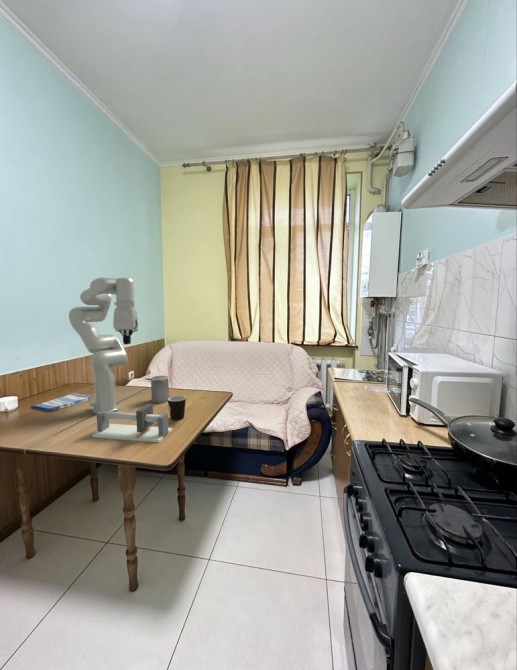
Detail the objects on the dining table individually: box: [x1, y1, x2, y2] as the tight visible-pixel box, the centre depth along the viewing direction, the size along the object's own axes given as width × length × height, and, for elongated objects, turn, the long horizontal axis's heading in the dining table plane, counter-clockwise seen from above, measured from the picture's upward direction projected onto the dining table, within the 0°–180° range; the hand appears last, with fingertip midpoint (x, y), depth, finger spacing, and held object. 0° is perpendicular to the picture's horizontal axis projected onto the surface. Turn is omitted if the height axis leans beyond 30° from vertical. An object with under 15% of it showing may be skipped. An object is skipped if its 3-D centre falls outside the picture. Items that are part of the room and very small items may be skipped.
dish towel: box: [30, 392, 92, 413], centre depth 165 cm, size 17×24×3 cm
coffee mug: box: [167, 395, 187, 422], centre depth 142 cm, size 12×9×10 cm
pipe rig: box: [91, 410, 173, 443], centre depth 126 cm, size 30×12×9 cm, turn 82°
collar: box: [135, 403, 154, 432], centre depth 125 cm, size 2×9×9 cm, turn 172°
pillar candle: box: [150, 375, 170, 404], centre depth 170 cm, size 10×10×15 cm
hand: (127, 343), depth 138 cm, fingers closed
